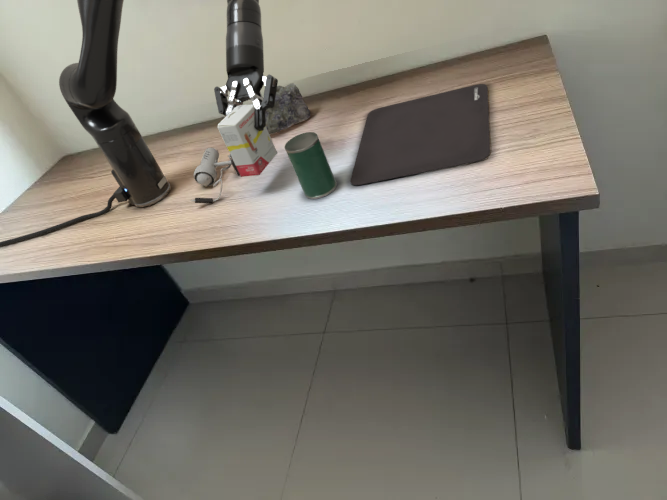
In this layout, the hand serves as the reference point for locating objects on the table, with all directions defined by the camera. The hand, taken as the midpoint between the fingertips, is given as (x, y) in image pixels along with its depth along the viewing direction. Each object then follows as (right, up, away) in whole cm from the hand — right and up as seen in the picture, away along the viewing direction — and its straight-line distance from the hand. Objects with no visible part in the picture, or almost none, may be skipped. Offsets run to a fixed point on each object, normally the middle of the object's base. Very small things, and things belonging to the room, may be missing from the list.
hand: (246, 131), depth 128 cm
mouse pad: (+35, 0, +3) cm, 36 cm away
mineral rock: (+6, +7, +29) cm, 30 cm away
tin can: (+15, -12, -1) cm, 19 cm away
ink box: (+2, -6, +4) cm, 8 cm away
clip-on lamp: (-7, -9, +16) cm, 19 cm away
